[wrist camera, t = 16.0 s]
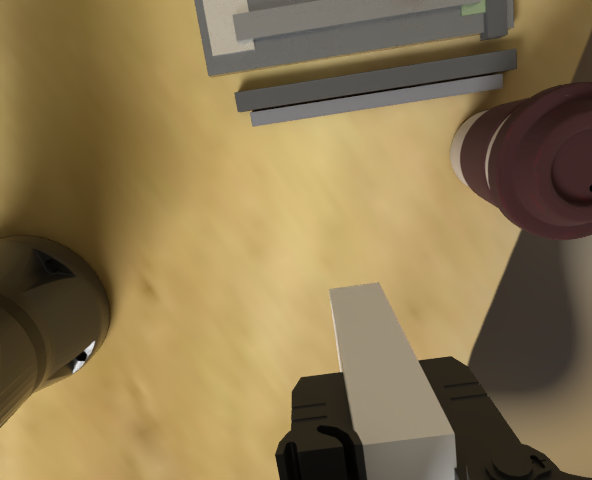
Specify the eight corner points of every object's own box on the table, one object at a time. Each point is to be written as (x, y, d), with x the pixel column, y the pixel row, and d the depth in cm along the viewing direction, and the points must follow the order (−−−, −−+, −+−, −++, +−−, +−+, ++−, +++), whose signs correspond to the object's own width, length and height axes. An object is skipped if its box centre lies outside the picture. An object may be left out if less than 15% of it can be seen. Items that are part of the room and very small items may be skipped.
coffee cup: (421, 116, 40) (491, 114, 26) (530, 78, 39) (666, 53, 25) (448, 217, 42) (526, 267, 28) (551, 183, 42) (686, 217, 27)
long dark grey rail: (242, 127, 40) (240, 128, 39) (236, 93, 40) (234, 92, 38) (508, 87, 39) (517, 86, 38) (507, 51, 39) (516, 48, 37)
